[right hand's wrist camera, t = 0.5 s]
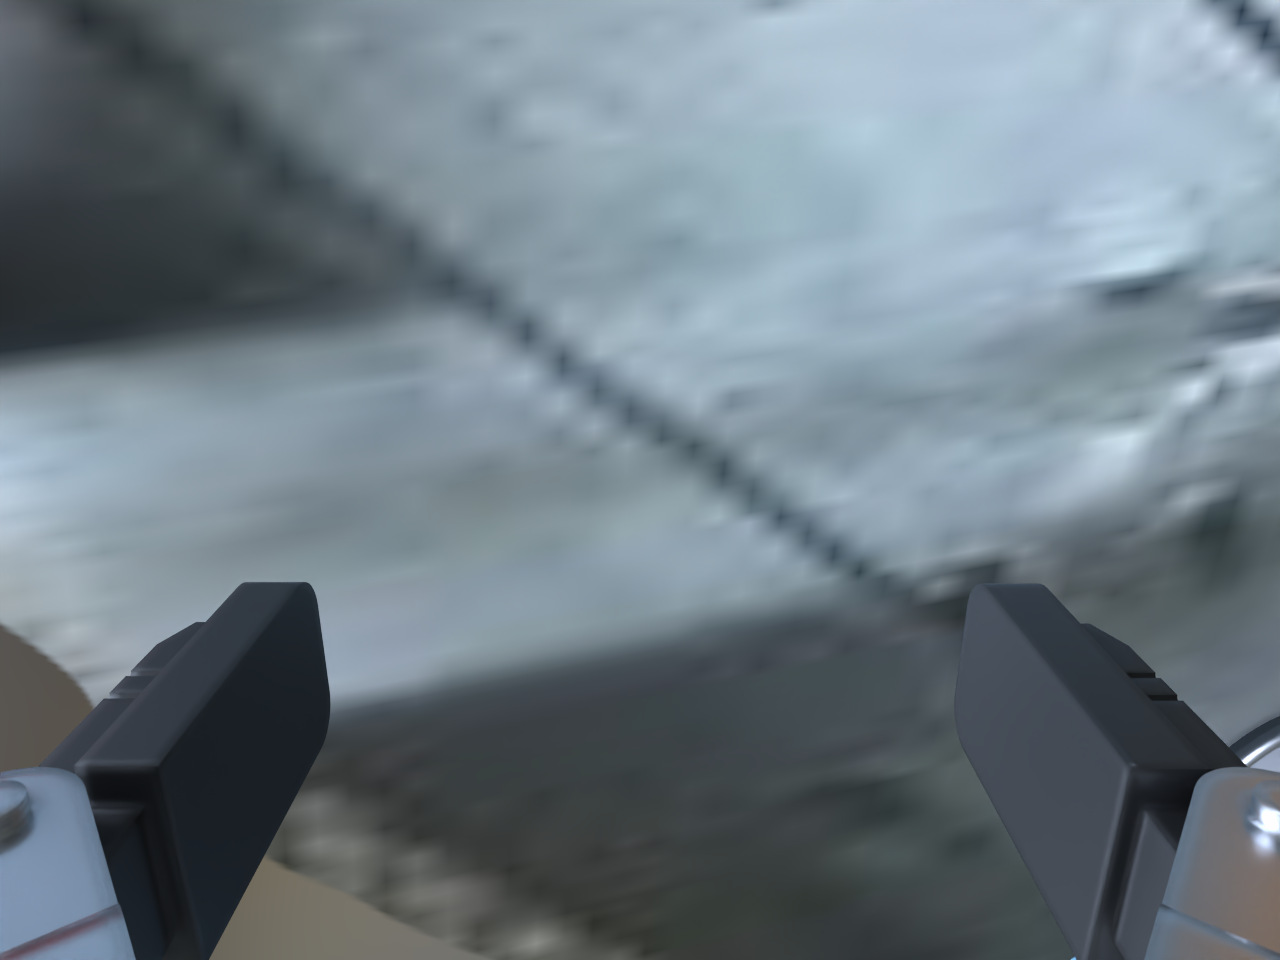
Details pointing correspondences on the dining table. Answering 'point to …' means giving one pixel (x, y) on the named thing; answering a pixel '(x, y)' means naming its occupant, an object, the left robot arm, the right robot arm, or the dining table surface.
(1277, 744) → the left robot arm
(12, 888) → the right robot arm
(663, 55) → the dining table surface
